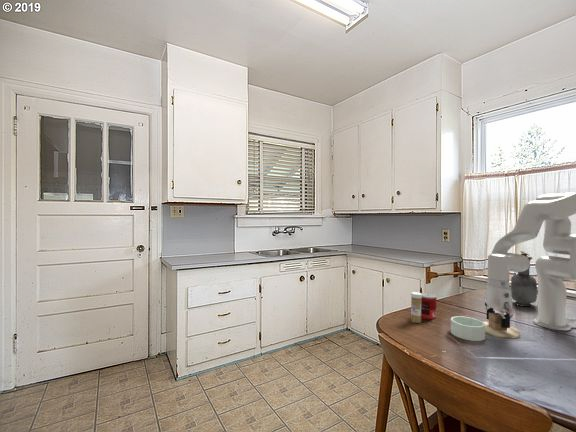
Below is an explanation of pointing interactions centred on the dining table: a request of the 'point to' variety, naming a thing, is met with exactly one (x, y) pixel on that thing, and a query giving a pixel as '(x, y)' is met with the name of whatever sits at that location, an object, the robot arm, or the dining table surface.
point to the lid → (499, 328)
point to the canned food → (428, 306)
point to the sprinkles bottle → (416, 307)
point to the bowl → (468, 328)
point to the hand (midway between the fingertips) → (497, 323)
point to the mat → (521, 338)
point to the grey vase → (524, 287)
